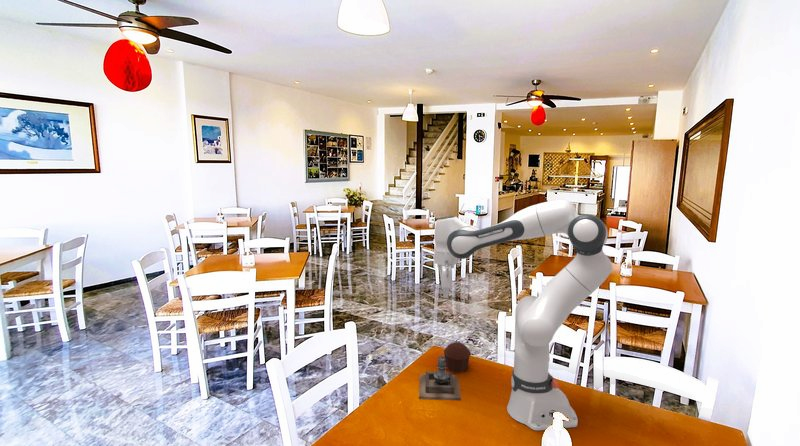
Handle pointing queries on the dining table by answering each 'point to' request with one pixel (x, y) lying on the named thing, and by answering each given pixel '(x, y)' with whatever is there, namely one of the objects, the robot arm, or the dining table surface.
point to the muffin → (457, 357)
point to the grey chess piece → (441, 372)
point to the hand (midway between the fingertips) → (445, 293)
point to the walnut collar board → (438, 388)
